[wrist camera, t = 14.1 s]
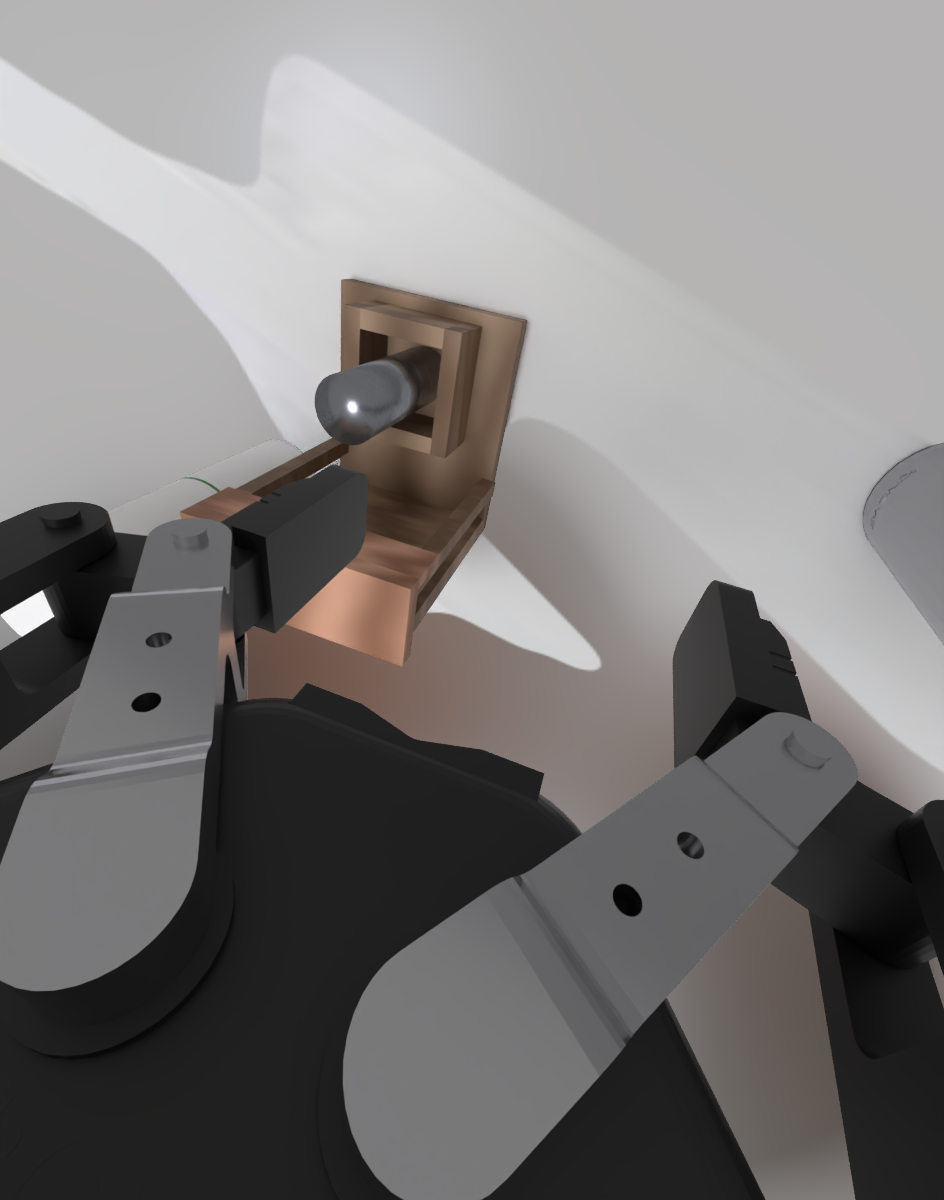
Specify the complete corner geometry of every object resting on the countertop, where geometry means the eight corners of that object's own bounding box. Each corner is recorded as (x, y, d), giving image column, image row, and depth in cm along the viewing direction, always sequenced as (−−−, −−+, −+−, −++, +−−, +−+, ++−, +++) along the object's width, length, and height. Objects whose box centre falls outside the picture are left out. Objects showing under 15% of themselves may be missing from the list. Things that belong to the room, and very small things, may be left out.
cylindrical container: (273, 512, 53) (39, 661, 33) (242, 445, 49) (-40, 567, 30) (327, 504, 50) (107, 662, 30) (298, 433, 46) (29, 558, 27)
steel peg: (451, 352, 37) (378, 383, 27) (444, 407, 39) (374, 453, 30) (402, 340, 37) (313, 366, 28) (398, 394, 40) (315, 435, 30)
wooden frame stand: (533, 321, 35) (435, 366, 20) (489, 533, 46) (402, 666, 31) (345, 277, 38) (132, 287, 23) (343, 488, 48) (196, 591, 33)
